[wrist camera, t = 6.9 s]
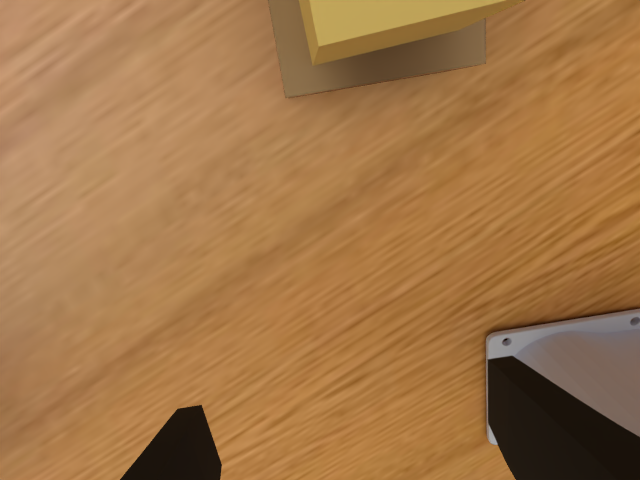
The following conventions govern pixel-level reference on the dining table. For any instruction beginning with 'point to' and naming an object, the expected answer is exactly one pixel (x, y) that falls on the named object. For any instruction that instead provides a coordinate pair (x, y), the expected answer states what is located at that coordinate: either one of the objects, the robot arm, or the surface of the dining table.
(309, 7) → the mustard brick
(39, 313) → the dining table surface
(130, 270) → the dining table surface
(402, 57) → the walnut base
